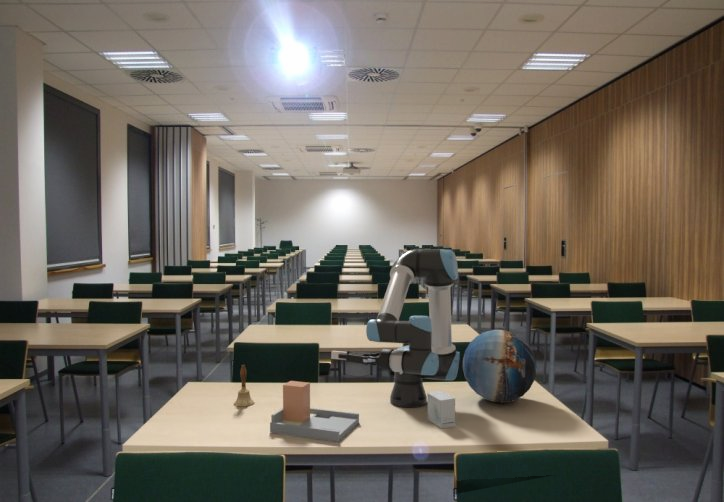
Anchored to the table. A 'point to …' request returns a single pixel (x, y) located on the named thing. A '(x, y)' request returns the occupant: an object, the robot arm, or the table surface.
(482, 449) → the table surface
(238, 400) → the hand bell
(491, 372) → the decorative globe
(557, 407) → the table surface
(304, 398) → the terracotta brick
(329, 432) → the tray
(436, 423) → the skincare box
